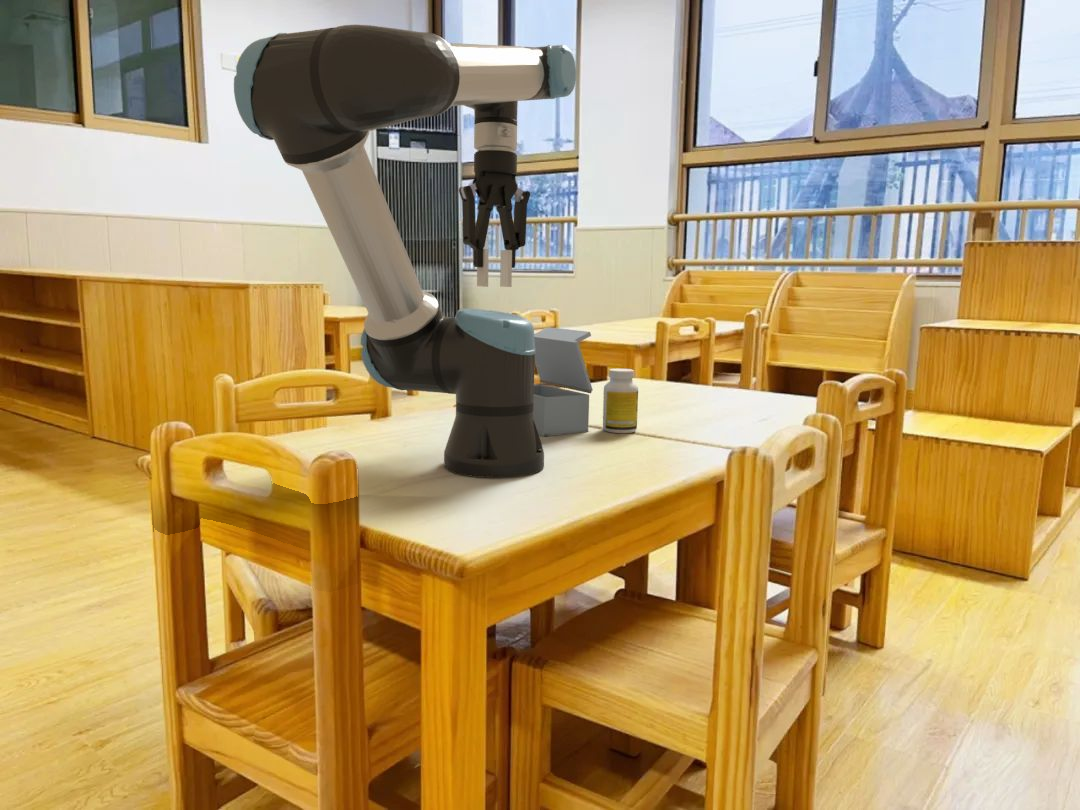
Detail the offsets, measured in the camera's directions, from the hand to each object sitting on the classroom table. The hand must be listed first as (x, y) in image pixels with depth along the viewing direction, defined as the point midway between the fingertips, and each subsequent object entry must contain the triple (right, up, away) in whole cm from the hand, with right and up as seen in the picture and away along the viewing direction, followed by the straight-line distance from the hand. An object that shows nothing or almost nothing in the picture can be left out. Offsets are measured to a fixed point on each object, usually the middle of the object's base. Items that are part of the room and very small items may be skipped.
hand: (494, 286), depth 145 cm
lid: (+11, -13, +10) cm, 20 cm away
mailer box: (+9, -26, +10) cm, 29 cm away
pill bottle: (+23, -26, +8) cm, 36 cm away
